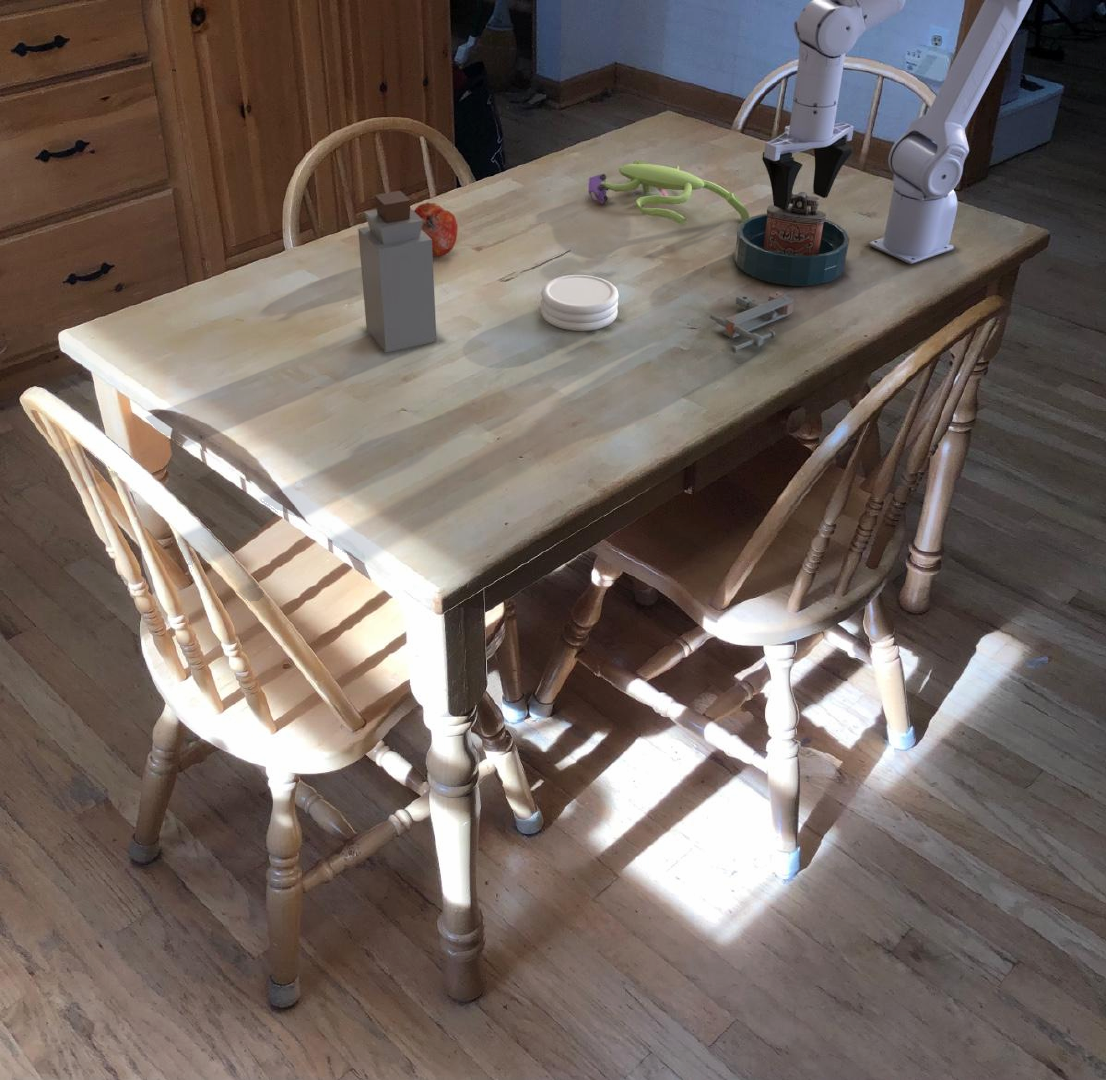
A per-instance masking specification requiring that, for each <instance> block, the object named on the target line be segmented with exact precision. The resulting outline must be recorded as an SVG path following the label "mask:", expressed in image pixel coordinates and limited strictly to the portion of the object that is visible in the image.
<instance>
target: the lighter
mask: <svg viewBox="0 0 1106 1080" xmlns="http://www.w3.org/2000/svg"><path fill="white" fill-rule="evenodd" d="M819 204H820V198H819V197H817V196H810V195H808V194H807V193H806V192H805V191H799V192H798V193H797V194H796V193H792V195H791V200H790V204H789V206H788V209H786V210H782V209H780V208H778V207H776V206H774V204H770V205H768V206H767V207H766V214H767V215H768V217H767V225H766V233H765V240H764V248H763V249H765V250H769V251H772V252H776V253H781V254H788V255H817V254H818V253H819V247H820V241H821V235H822V228H823V222H824V221H825V219H826V216H827V214H826V212H824V211H821V210H818V208H819Z"/></svg>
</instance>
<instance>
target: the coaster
mask: <svg viewBox="0 0 1106 1080" xmlns="http://www.w3.org/2000/svg"><path fill="white" fill-rule="evenodd" d="M540 296H541V297H540V298H541V299H540V305H541V306H540V314H541V316H542V318H543V319H544V320H545V321H546V322H547V323H549V324H550V325H553V327H556V328H558V329H562V330H566V331H573V332H574V331H575V332H589V331H595V330H599V329H604V328H605V327H607V326H609V325H611V324H612V323H613V322H614V321H615V320H616V319H617V316H618V314H619V311H618V307H619V298H620V297H619V296H620V295H619V291H618V289H617V287H616V286H615V285H614V284H613V283H611V282H610V281H608V280H606V279H604V278H601V277H597V276H594V275H587V274H570V275H563V276H558V277H556V278H553V279H550V280H549V281H548V282H547V283H546V284H544V286H543V287H542V288H541V292H540Z"/></svg>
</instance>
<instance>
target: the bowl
mask: <svg viewBox="0 0 1106 1080" xmlns="http://www.w3.org/2000/svg"><path fill="white" fill-rule="evenodd" d="M767 217H768V215H767V213H761V214H757V215H753V216H749V218H748V219H747V220H745V221H744V220H743V221H742V222H741V223H740V224H739V226H738V228H737V232H736V243H735V251H734V261H735V264H736V266H737V267H738V268H739V269H741V270H742V272H744V273H746V275H749V276H751V277H753V278H754V279H758V280H761V281H764V282H767V283H770V284H777V285H783V286H792V287H793V286H797V287H798V286H799V287H806V286H815V285H822V284H826V283H829V282H831V281H834V280H836V279H837V278H838V277H840V276H841V275H842V274H843V273H844V269H845V265H846V260H847V253H848V249H849V242H850V237H849V235H848V232H847V230H845V229H844V228H843V227H841V226H840V225H839V224H837V223H835V222H833V221H830V220H829V219H826V218H825V221H824V222H823V228H822V235H821V241H820V247H819V253H818V254H817V255H788V254H781V253H776V252H772V251H769V250H765V249H763V248H764V240H765V233H766V225H767Z"/></svg>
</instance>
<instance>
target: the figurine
mask: <svg viewBox="0 0 1106 1080" xmlns="http://www.w3.org/2000/svg"><path fill="white" fill-rule="evenodd" d="M618 171H619V173H620V174H621V176H623V177H625V178H627V179H629V180H630V181H629V182H625V183H620V184H619V183H618V184H614V183H613V184H612V183H610V182H607V181H606V179H607V175H606V174H605V173H601V174H598V175H594V176H591V177H589V178H588V190H587V191H588V193H589V195H590V197H591V199H592V200H593V201H595V202H598V203H599V204H600V205H601V204H605V202H608V200H609V197H608V195H607V191H613V192H616V193H617V192H620V193H621V192H628V191H635V190H637V189H638V188H639V186H640V185H641V186H642V190H643V195H644V196H640V197H639V198H637V199H636V200H635V205H636V207H637V209H638V210H639V211H640V213H641V214H642V215H643V216H649V217H659V218H665V219H669V220H672V221H673V222H676V223H677V224H679V225H680V226H684V225H686V223H687V218H686V217H685V216H683V215H682V214H679V213H678V212H677V211H674V210H670V209H666V208H655V207H654V208H652V207H651V208H649V207H643V206H645V205H652V204H661V205H662V204H664V205H679V204H684V203H686V202H687V201H688V200H689V199H690V197H691V194H692V191H693V190H694V191H695V190H700V189H706V190H708V191H711V192H713V193H715V194H716V195H718V196H720V197H722V198H723V199H724V200H726V202H727V203H728V204H729V205H730V206H731V207H732V208H733V209H734V210H735V211H736V212H737V213H739V215H740V218H741V220H742V221H743V222H744V221H745V220H747V219H748V218H750V214H749V211H748V210H747V209H746V207H745V206H744V205H743V204H742V202H741V200H740V198H739V197H738V196H737V195H736V194H735V193H733V192H730V191H728V190H727V189H725V188H724V187H722V186H720V185H718V184H717V183H714V182H712V181H709V180H705V179H701V178H700V177H698V176H696V175H694V174H692V173H691V172H687V171H685V170H682V169H680V165H677V166H676V167H670V166H665V165H658V164H652V163H651V164H650V163H647V162H645V161H642V160H639V159H635V160H634V161H633V163H629V164H625V165H621V166H620V167H619V168H618ZM652 187H653V188H655V189H657V190H658V191H659V192H660V193H661V194H662V195H660V194H659V195H658V194H656V195H647V194H648V192H649V191H650V190H651V189H652ZM666 190H671V191H682V194H680V195H676V196H670V195H669V194H668V193H667V191H666Z"/></svg>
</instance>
